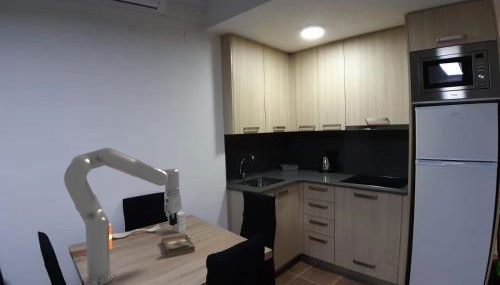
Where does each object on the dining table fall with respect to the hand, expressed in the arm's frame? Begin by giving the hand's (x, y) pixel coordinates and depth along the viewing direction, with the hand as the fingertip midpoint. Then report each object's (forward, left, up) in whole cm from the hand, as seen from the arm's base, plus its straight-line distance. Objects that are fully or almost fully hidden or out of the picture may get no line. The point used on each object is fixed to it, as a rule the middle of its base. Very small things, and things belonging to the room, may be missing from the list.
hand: (173, 224), depth 148 cm
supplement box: (+43, -12, -19) cm, 49 cm away
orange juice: (+35, +36, -19) cm, 54 cm away
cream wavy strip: (+50, +16, -20) cm, 56 cm away
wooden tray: (+15, -5, -19) cm, 25 cm away
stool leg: (+6, -4, -16) cm, 17 cm away
